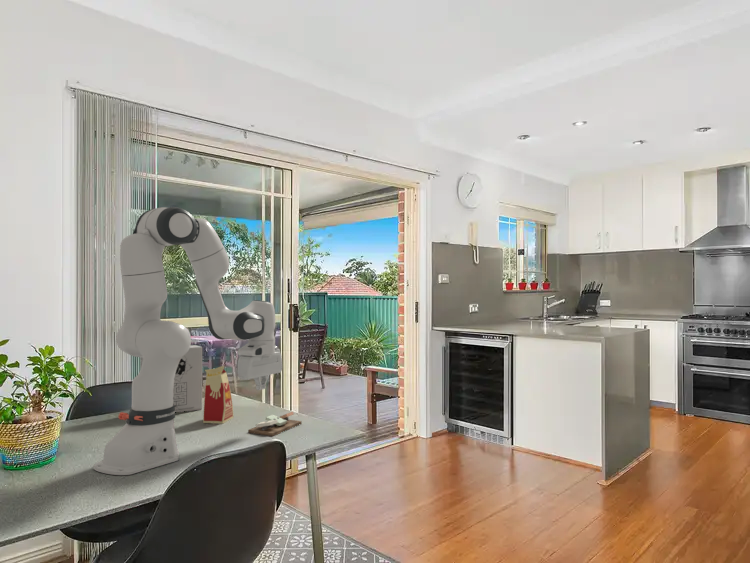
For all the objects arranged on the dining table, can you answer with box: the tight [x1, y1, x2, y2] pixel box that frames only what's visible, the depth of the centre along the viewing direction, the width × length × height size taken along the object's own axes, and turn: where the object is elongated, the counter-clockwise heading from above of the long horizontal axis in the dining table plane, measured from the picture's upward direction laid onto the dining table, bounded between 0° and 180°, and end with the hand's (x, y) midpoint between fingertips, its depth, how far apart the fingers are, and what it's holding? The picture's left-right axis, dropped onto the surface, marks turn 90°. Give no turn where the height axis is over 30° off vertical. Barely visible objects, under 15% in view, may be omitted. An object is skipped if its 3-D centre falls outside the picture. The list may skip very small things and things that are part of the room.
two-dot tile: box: [265, 414, 287, 426], centre depth 179 cm, size 4×6×1 cm, turn 65°
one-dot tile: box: [255, 420, 278, 427], centre depth 175 cm, size 4×6×1 cm, turn 65°
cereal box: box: [139, 344, 203, 413], centre depth 204 cm, size 22×8×25 cm, turn 124°
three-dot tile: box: [279, 411, 295, 419], centre depth 184 cm, size 4×6×1 cm, turn 65°
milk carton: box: [202, 365, 234, 425], centre depth 190 cm, size 9×9×20 cm
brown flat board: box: [247, 417, 302, 437], centre depth 179 cm, size 17×10×2 cm, turn 155°
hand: (260, 389), depth 176 cm, fingers closed
